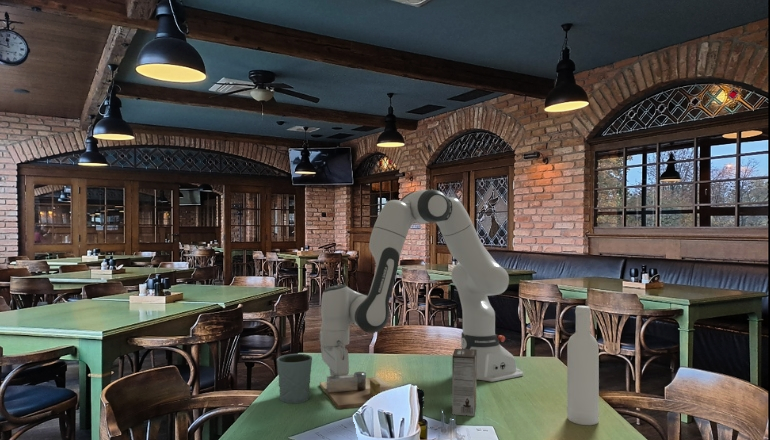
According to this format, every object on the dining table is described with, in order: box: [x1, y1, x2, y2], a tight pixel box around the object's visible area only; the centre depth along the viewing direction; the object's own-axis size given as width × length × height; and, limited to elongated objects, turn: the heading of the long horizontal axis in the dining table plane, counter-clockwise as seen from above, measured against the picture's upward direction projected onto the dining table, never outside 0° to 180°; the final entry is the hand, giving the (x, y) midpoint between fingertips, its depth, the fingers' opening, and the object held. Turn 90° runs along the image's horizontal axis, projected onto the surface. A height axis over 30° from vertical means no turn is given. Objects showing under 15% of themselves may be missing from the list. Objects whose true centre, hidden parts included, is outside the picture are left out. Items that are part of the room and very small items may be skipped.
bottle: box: [566, 305, 600, 426], centre depth 138 cm, size 8×8×30 cm
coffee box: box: [451, 348, 477, 417], centre depth 145 cm, size 9×6×16 cm
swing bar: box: [326, 371, 367, 393], centre depth 158 cm, size 12×4×5 cm, turn 107°
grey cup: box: [276, 353, 313, 404], centre depth 154 cm, size 10×10×12 cm
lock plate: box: [319, 376, 393, 410], centre depth 159 cm, size 20×23×5 cm
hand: (334, 382), depth 161 cm, fingers closed
